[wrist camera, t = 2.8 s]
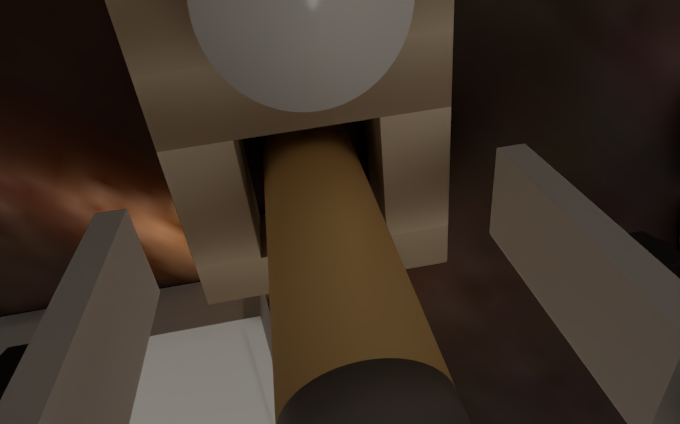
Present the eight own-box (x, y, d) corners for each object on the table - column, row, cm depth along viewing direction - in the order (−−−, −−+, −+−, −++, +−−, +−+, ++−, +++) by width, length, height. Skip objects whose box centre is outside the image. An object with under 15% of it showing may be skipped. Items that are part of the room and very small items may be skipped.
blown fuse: (254, 119, 15) (260, 446, 6) (348, 105, 15) (490, 399, 6) (271, 200, 17) (295, 553, 8) (355, 186, 17) (477, 512, 8)
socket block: (79, -174, 11) (39, -192, 9) (422, -209, 12) (460, -234, 9) (213, 257, 18) (208, 304, 16) (424, 221, 18) (446, 261, 16)
